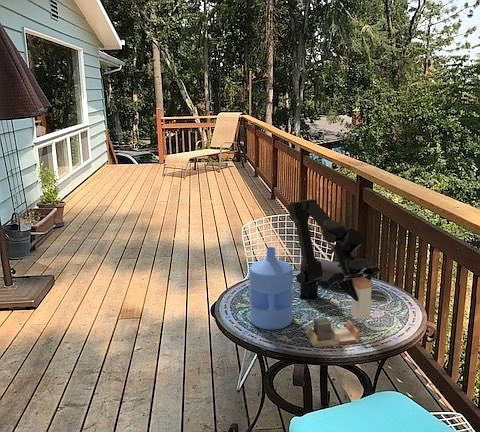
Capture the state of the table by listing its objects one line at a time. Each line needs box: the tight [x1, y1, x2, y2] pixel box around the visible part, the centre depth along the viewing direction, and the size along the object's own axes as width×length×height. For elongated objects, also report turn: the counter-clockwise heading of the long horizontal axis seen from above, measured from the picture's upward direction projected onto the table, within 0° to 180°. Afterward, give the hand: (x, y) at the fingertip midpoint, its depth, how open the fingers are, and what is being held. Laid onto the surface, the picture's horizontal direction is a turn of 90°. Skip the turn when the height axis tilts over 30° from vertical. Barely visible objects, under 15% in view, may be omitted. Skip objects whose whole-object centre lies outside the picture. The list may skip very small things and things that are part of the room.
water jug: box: [248, 246, 294, 331], centre depth 177 cm, size 16×16×28 cm
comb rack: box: [306, 316, 360, 348], centre depth 166 cm, size 8×16×7 cm, turn 101°
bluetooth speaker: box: [317, 259, 372, 287], centre depth 207 cm, size 23×9×10 cm, turn 58°
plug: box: [350, 277, 373, 320], centre depth 166 cm, size 4×4×13 cm
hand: (363, 299), depth 165 cm, fingers closed on plug, 4 cm apart
